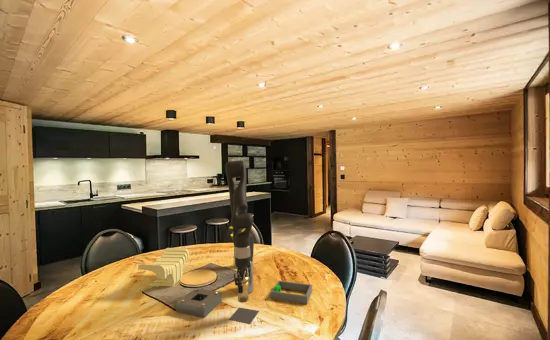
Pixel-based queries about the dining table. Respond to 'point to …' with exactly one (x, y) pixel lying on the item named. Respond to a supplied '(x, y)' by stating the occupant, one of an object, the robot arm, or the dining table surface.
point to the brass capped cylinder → (244, 291)
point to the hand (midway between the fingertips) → (243, 289)
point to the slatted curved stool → (168, 267)
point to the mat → (244, 315)
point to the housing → (199, 302)
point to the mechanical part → (277, 288)
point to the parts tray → (290, 296)
